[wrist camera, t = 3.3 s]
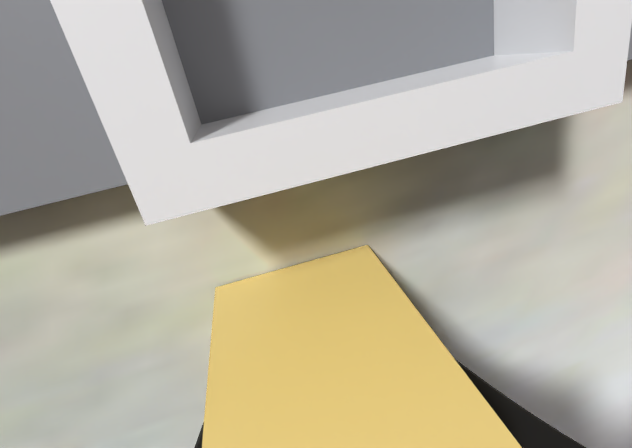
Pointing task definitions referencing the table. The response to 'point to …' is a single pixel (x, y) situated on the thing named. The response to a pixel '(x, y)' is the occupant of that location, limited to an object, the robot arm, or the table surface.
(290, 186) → the grey boxy piece
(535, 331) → the table surface
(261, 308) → the plug
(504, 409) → the robot arm
